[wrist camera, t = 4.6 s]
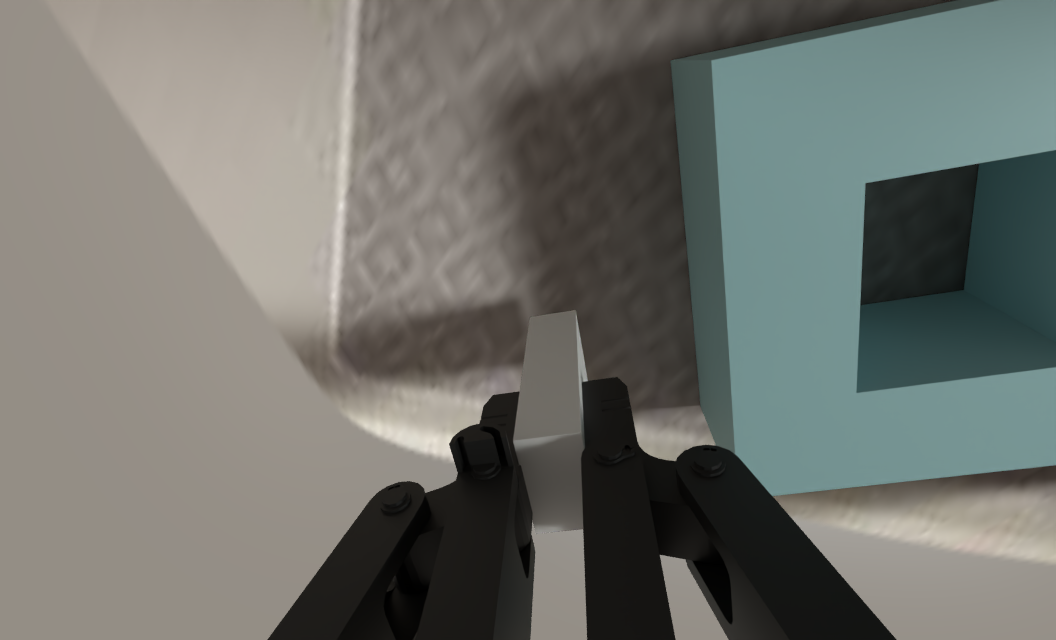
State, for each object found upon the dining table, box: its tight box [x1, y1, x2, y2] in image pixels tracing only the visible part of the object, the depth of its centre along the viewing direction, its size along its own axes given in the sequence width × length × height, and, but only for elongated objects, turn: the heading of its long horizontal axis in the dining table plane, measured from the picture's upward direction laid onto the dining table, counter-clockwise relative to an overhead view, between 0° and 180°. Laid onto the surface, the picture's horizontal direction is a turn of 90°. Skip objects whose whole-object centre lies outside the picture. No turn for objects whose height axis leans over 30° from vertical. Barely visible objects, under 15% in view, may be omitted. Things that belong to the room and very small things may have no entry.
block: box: [671, 0, 1056, 496], centre depth 16 cm, size 12×12×5 cm
